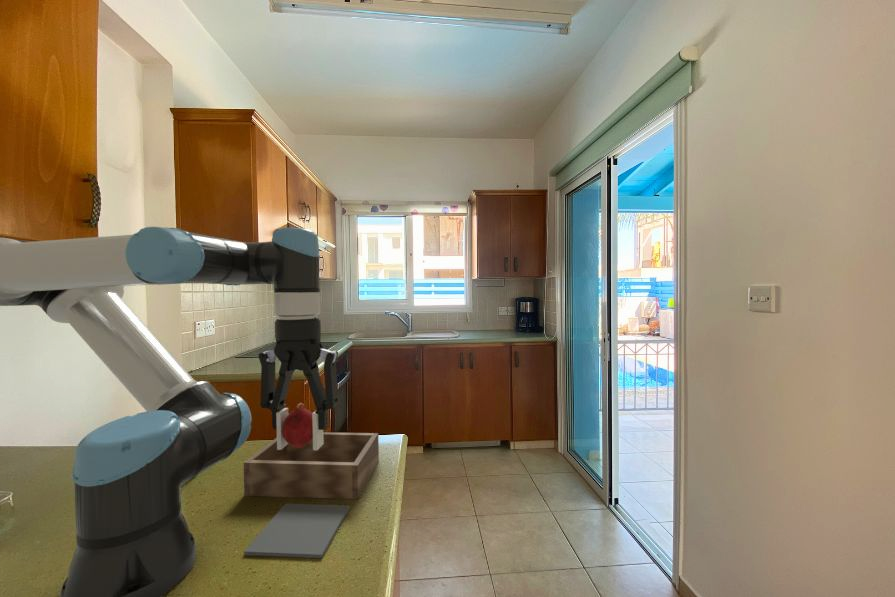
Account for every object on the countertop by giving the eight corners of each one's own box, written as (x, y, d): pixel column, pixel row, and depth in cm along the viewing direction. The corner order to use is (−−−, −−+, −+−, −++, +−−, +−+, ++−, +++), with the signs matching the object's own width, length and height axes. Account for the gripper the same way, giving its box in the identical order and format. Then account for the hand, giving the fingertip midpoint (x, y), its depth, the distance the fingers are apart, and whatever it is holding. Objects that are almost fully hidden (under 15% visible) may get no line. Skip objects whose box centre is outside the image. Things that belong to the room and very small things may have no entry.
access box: (244, 495, 75) (243, 462, 75) (284, 458, 91) (284, 431, 91) (358, 498, 73) (357, 465, 73) (378, 460, 90) (378, 433, 90)
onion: (309, 455, 61) (308, 409, 60) (276, 455, 61) (275, 409, 61) (322, 441, 66) (321, 398, 66) (291, 441, 67) (290, 399, 66)
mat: (244, 555, 58) (244, 551, 58) (285, 506, 71) (285, 503, 71) (321, 558, 57) (321, 554, 57) (349, 508, 70) (349, 505, 70)
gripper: (356, 315, 66) (358, 438, 67) (259, 316, 68) (262, 437, 68) (342, 318, 59) (344, 457, 59) (233, 319, 60) (236, 455, 61)
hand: (300, 446), depth 64 cm, fingers closed on onion, 6 cm apart
